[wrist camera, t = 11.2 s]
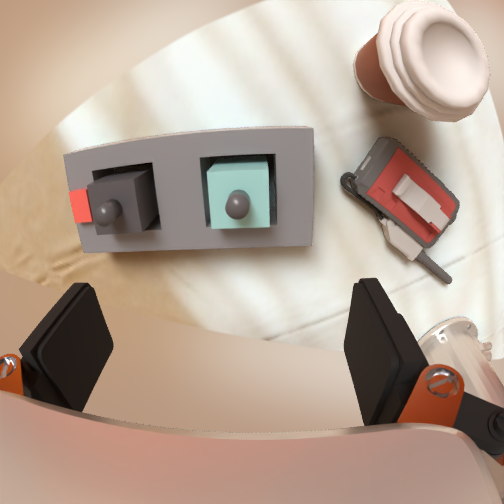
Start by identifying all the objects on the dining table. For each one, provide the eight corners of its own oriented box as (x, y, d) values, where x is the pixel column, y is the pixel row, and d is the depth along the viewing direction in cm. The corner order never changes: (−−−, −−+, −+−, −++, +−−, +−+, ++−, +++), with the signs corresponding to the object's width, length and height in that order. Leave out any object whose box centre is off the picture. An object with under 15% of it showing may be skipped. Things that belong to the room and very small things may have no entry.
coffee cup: (340, 20, 21) (388, -26, 10) (424, 43, 21) (498, 24, 10) (336, 107, 25) (387, 106, 14) (420, 124, 25) (497, 140, 14)
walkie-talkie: (323, 194, 29) (440, 282, 33) (333, 208, 25) (456, 301, 29) (372, 124, 26) (480, 230, 30) (390, 126, 22) (500, 244, 26)
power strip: (305, 126, 26) (325, 131, 18) (305, 226, 30) (321, 271, 22) (86, 147, 27) (33, 164, 19) (102, 235, 31) (61, 275, 23)
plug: (266, 156, 27) (269, 175, 19) (267, 201, 29) (270, 237, 21) (219, 158, 28) (201, 177, 19) (222, 202, 29) (207, 239, 21)
